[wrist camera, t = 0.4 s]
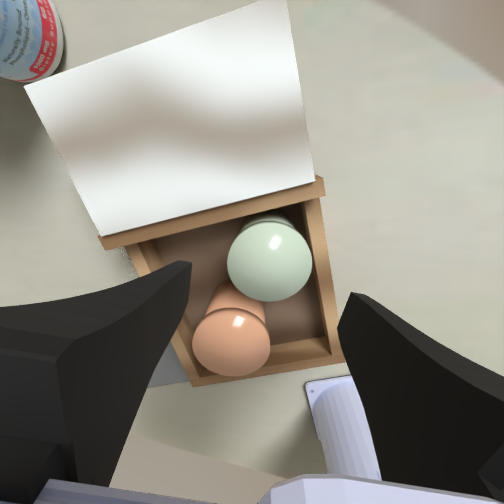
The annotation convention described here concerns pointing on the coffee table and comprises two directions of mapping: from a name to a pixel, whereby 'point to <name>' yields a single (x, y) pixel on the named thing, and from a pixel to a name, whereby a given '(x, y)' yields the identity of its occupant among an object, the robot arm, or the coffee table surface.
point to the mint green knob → (269, 257)
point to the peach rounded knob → (232, 333)
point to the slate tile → (168, 369)
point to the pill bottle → (29, 39)
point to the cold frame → (200, 166)
